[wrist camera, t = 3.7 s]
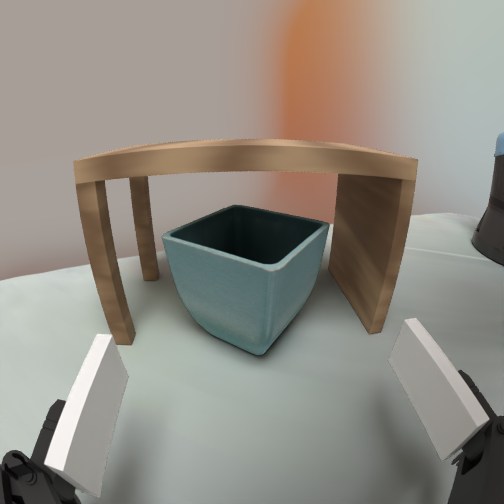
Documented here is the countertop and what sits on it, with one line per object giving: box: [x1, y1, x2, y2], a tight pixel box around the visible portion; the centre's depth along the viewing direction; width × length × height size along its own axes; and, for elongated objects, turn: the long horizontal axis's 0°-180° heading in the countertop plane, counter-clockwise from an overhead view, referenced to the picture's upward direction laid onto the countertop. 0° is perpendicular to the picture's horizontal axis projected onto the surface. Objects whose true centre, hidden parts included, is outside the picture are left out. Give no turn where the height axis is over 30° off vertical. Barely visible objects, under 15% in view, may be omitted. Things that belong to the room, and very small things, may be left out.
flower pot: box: [162, 205, 330, 355], centre depth 21 cm, size 9×9×9 cm
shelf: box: [73, 139, 418, 345], centre depth 23 cm, size 22×12×14 cm, turn 94°
